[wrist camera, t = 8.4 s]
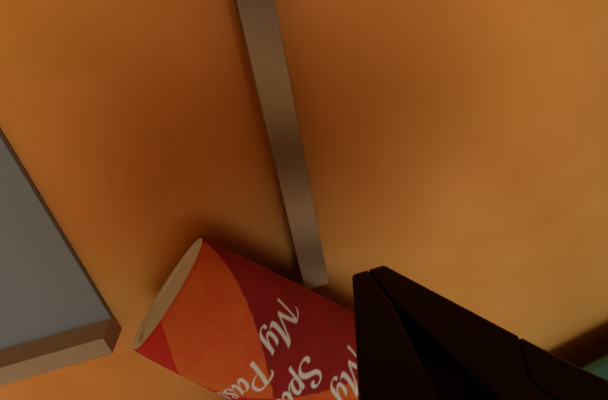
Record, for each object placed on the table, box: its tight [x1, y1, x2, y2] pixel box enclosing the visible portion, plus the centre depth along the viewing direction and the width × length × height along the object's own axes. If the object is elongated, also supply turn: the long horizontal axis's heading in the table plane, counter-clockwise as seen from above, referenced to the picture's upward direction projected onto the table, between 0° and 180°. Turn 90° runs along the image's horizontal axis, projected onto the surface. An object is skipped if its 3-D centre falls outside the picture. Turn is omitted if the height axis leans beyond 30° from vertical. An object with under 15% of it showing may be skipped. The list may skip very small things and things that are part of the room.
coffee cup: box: [133, 238, 359, 400], centre depth 19 cm, size 8×8×15 cm
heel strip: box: [235, 0, 329, 289], centre depth 18 cm, size 16×2×2 cm, turn 11°
